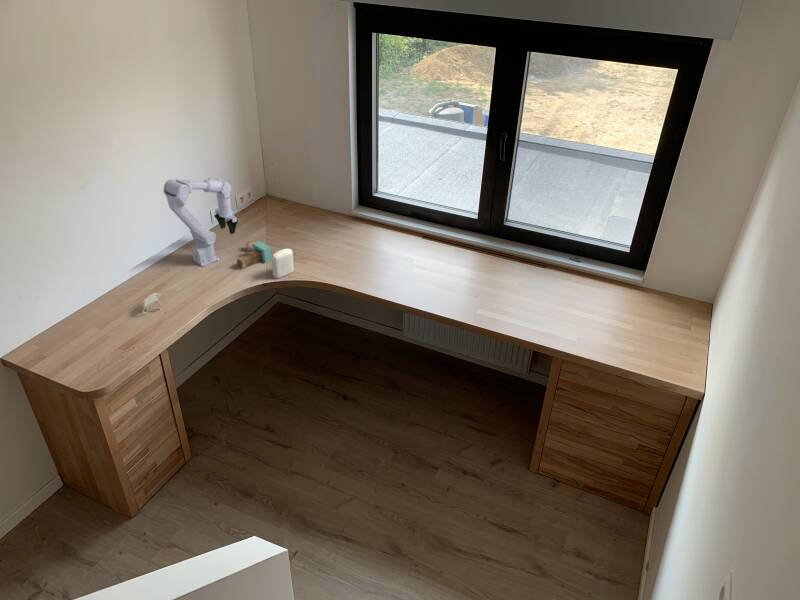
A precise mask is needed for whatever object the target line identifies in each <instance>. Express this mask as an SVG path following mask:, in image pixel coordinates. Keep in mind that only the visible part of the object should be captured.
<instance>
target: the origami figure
mask: <svg viewBox="0 0 800 600" xmlns="http://www.w3.org/2000/svg"><path fill="white" fill-rule="evenodd" d="M159 298H160V294H159V293H158V292H157V293H156V292H155V291H154V292H153V293H151V294H149V295H148V296H147V297H146V298H145V299H143V302H142V306H144V307H143V310H142V312H141V313H142V314H145V315H144V316H147V315H148V312H145V310H147V309H148V306H150V305H151V304H154V303H157V304H158V305H159V306H157V308H158V309H159V310H160V311H162V307H164V306H163V304H162V303H161V302H159V301H160V300H159Z"/></svg>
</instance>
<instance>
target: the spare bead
mask: <svg viewBox="0 0 800 600" xmlns="http://www.w3.org/2000/svg"><path fill="white" fill-rule="evenodd" d="M254 242H255V241H248V242H246V244H245V245H246V246H245V247H246V252H248V253H253V248H252V243H254Z"/></svg>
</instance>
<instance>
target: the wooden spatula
mask: <svg viewBox="0 0 800 600" xmlns="http://www.w3.org/2000/svg"><path fill="white" fill-rule="evenodd" d="M272 252H273V251H271V255H273V254H272ZM259 262H263V261H262V251H260V250H258V251H256V252H254V253H253V252H250V254H246V255H244V256H242V257H239V258H237V259H236V264H237V265H236V266H237V268H238V269H241V270H244V269H246V268H248V267H251V266H253V265H255V264H259Z"/></svg>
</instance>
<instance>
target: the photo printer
mask: <svg viewBox="0 0 800 600" xmlns="http://www.w3.org/2000/svg"><path fill="white" fill-rule="evenodd" d="M271 255H272V260H271V268H272V269H271V270H272V275H273V278H274V279H281V278H283V277H285V276H287V275H290V274H292V273H293V272H294V271H295V269H294V253H293V250H292V249H290V248H283V249H280V250H278V251H276V252H275V253H273V254H271Z"/></svg>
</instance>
